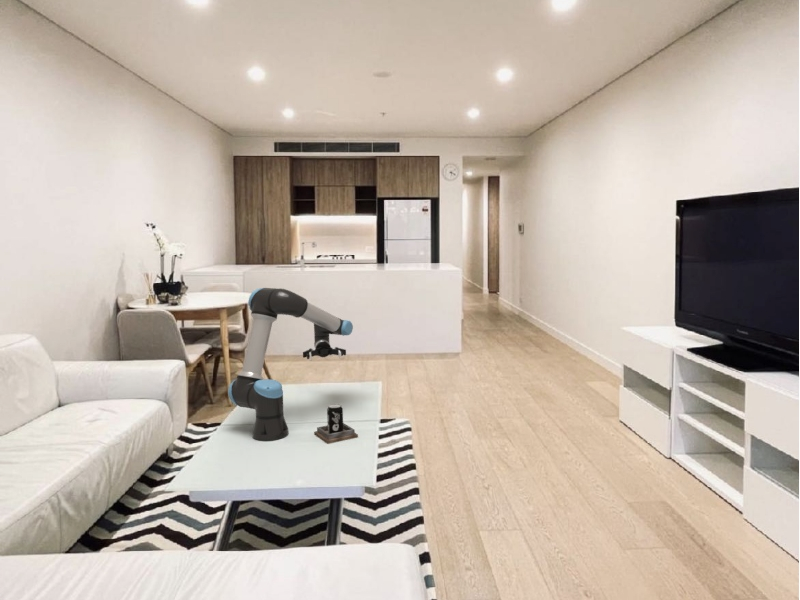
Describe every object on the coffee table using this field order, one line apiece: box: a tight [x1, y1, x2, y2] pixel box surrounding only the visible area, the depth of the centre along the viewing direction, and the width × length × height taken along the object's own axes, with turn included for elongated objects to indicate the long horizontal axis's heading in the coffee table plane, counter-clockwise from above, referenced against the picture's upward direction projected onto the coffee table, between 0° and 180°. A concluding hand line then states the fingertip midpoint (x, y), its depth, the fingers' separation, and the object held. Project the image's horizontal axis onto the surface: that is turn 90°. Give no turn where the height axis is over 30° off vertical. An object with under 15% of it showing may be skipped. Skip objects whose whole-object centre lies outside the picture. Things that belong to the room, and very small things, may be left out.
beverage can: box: [326, 403, 344, 434], centre depth 242 cm, size 7×7×12 cm
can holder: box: [313, 422, 359, 445], centre depth 243 cm, size 14×14×3 cm
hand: (325, 356), depth 262 cm, fingers open, 13 cm apart
